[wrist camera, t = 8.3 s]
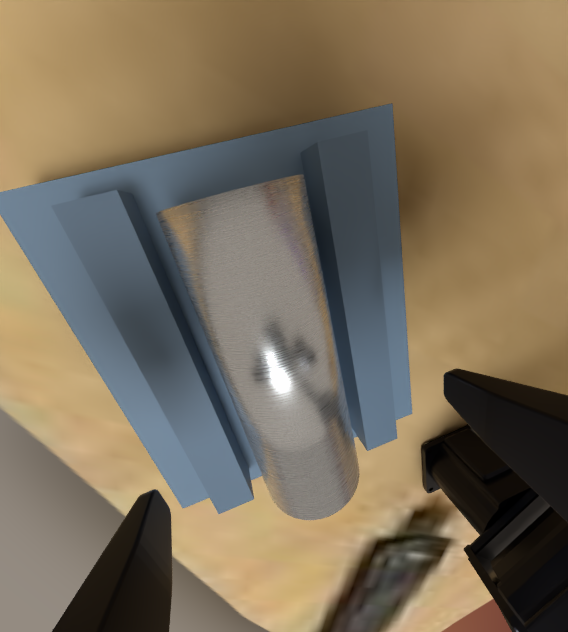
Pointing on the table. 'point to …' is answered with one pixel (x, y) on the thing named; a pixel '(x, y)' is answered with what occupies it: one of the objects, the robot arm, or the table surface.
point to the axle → (271, 336)
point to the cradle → (175, 304)
